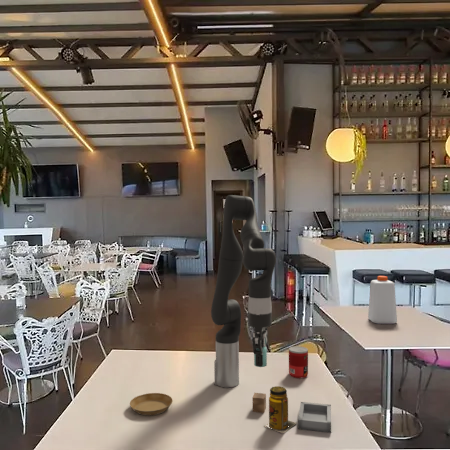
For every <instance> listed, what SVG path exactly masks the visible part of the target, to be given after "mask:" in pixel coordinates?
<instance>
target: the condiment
mask: <svg viewBox="0 0 450 450" xmlns="http://www.w3.org/2000/svg"><path fill="white" fill-rule="evenodd" d="M268 419H269V420H268V423H269V427H270V428H272V429H273V430H272V431H274V432H278V433H281V434H285V433H286V432H288V431H289V430H291V428H292V427H294V426H295V425H296V424H297V422H295V421H292V420H289V397H288V395H287V389H286V388H285V387H284V386H277V385H276V386H272V387H271V388H270V389H269V397H268ZM268 423H267V424H266V425H268ZM288 426H289V427H288ZM263 427H265V428H267V427H266V426H265V425H264V426H263ZM270 428H268V429H269V430H271V429H270Z"/></svg>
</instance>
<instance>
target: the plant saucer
mask: <svg viewBox="0 0 450 450" xmlns="http://www.w3.org/2000/svg"><path fill="white" fill-rule="evenodd" d="M173 401H174V400H173V398H172V397H171V396H170V395H168V394H166V393H160V392H151V393H149V392H148V393H144V394H140V395H137V396H135V397H134V398H132V399H131V400H130V402H129V406H130V407H131V409H132V410H133V411H135V413H137V414H139V415H141V416H156V415H159V414H162V413H164V412H166V411H167V410H168V409H169V408H170V406H172V403H173Z"/></svg>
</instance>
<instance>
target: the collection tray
mask: <svg viewBox="0 0 450 450" xmlns="http://www.w3.org/2000/svg"><path fill="white" fill-rule="evenodd" d="M297 429H298V430H304V431H311V432H312V431H313V432H322V433H332V405H331V404H328V403H318V402H317V403H316V402H306V401H300V406H299V412H298V419H297Z"/></svg>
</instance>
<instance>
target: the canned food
mask: <svg viewBox="0 0 450 450" xmlns="http://www.w3.org/2000/svg"><path fill="white" fill-rule="evenodd" d="M288 374H289V376H290V377H291V378H295V379H305V378H308V374H309V349H308V348H307V347H306V346H298V345H296V346H295V345H294V346H290V347H289V348H288Z"/></svg>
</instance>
